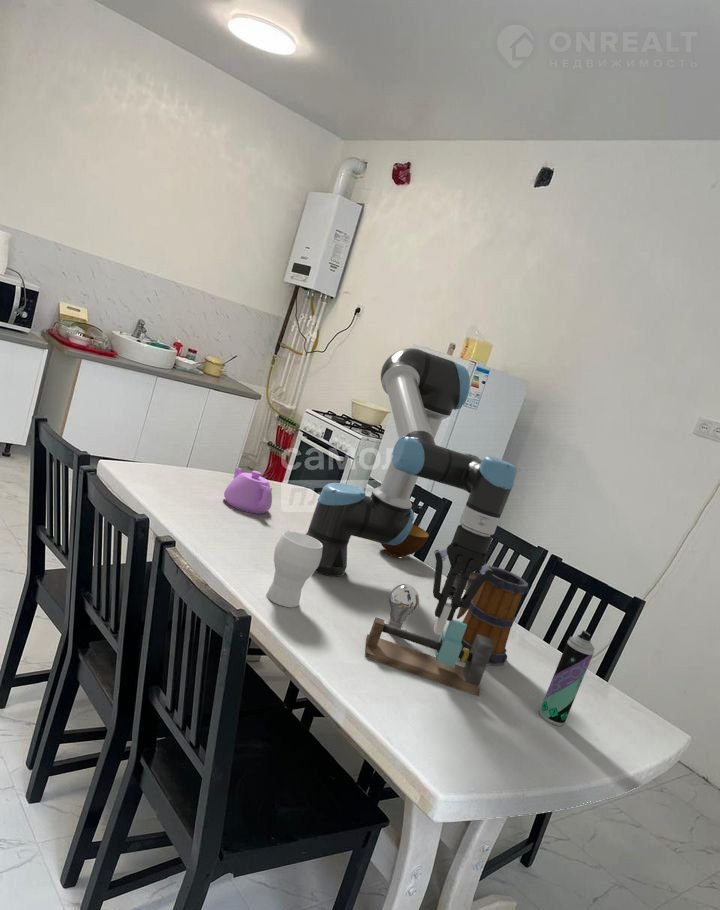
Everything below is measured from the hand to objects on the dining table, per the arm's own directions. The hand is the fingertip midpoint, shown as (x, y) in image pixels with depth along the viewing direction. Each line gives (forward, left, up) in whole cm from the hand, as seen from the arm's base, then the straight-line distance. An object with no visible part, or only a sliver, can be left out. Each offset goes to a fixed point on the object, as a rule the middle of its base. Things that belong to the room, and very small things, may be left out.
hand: (437, 631), depth 147 cm
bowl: (-6, +81, -9) cm, 81 cm away
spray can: (+28, -4, -9) cm, 30 cm away
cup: (-34, +11, -9) cm, 36 cm away
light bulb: (-7, +14, -9) cm, 18 cm away
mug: (+14, +23, -9) cm, 28 cm away
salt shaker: (+12, +58, -9) cm, 59 cm away
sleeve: (+4, 0, -6) cm, 6 cm away
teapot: (-57, +78, -9) cm, 97 cm away
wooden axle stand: (-1, 0, -8) cm, 8 cm away
